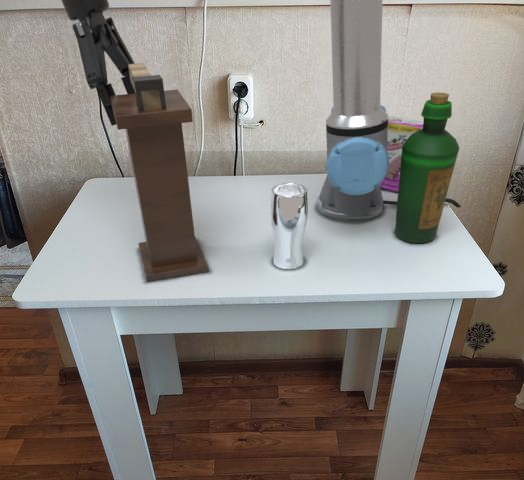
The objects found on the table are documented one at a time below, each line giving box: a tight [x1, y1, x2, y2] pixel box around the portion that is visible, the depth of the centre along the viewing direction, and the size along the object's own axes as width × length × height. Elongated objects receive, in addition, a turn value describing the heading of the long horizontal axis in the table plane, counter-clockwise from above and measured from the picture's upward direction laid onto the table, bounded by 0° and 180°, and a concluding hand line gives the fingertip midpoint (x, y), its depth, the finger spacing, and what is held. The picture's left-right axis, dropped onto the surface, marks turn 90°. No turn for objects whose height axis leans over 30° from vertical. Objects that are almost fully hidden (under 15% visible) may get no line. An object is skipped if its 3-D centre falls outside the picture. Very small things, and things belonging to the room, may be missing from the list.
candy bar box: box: [380, 115, 423, 194], centre depth 126 cm, size 11×5×16 cm, turn 58°
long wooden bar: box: [128, 62, 166, 111], centre depth 89 cm, size 22×4×4 cm, turn 16°
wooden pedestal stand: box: [110, 89, 209, 283], centre depth 96 cm, size 14×12×30 cm
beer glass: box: [270, 182, 309, 270], centre depth 99 cm, size 7×7×15 cm
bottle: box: [394, 91, 460, 244], centre depth 103 cm, size 11×11×28 cm
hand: (130, 116), depth 101 cm, fingers open, 13 cm apart
